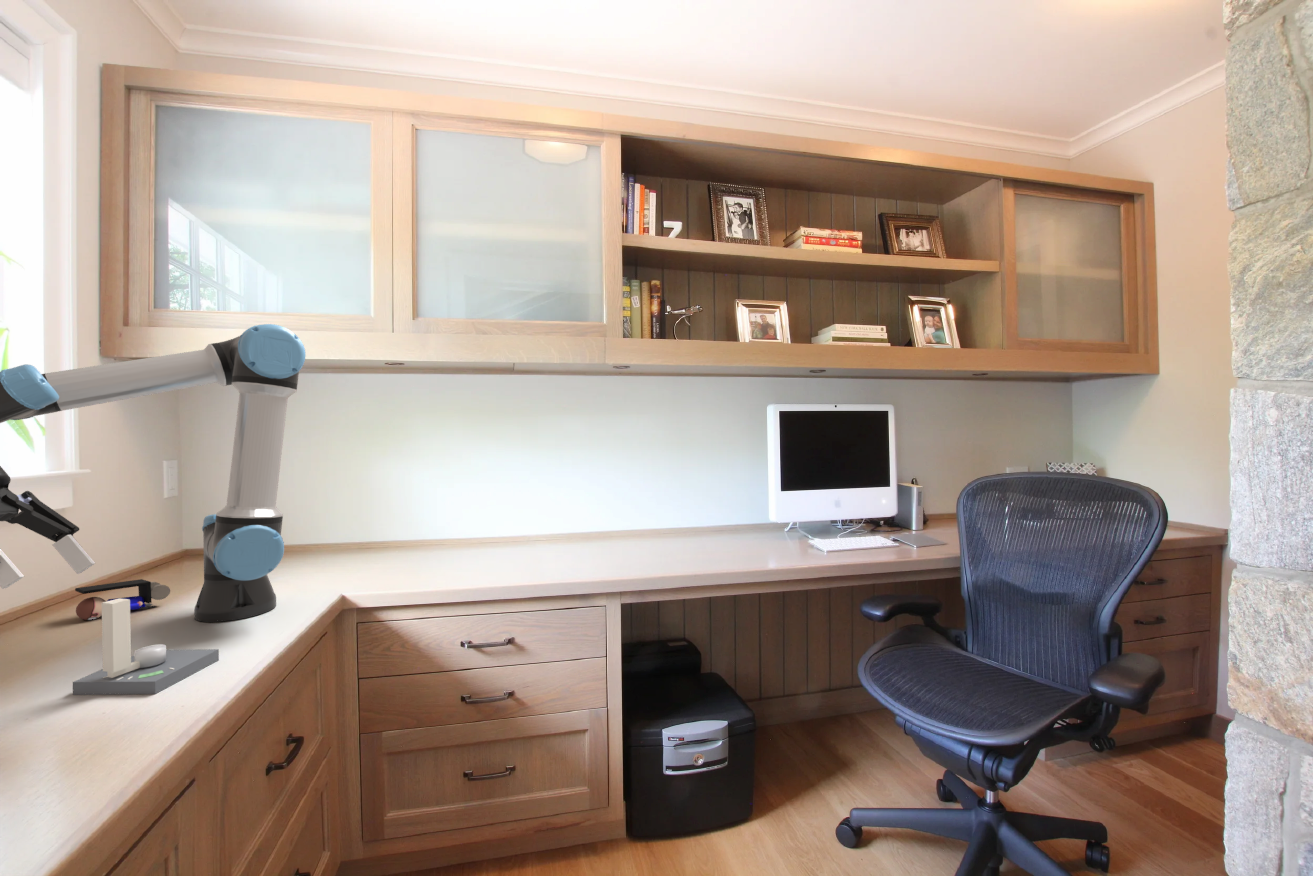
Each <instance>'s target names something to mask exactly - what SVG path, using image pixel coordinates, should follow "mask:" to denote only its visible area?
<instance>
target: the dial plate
mask: <svg viewBox="0 0 1313 876" xmlns="http://www.w3.org/2000/svg"><path fill="white" fill-rule="evenodd" d="M219 654H220V651H219V648H213V649H212V648H211V649H210V648H209V649H208V648H207V649H205V648H204V649H202V648H201V649H192V648H191V649H190V648H189V649H183V648H182V649H166V661H165V662H163V663H161V664H158V665H155V666H150V667H144V668H138V669H135V670H132V671H130V672H127V673H124V674H121V675H118V676H116V677H113V678H110V677H108V672H106V671H103V668H101V669H99V670H97V671H94V672H93V673H91V674H90V673H89V674H87V675H86V676H83V677H81V678H79V679H76V680H74V681H72V695H81V696H82V695H157V694H158V693H160V692H162V691H164V690H166V689H167V688H169V687H171V686H173V685H175V684H177V683H179V682H181V681H183V680H184V679H186V678H189V677H190V676H192V675H194V674H196V673H197V672H199V671H201V670H203V669H205V668H208V667H209V666H210V665H212V664H215V663H216V662H218V661H220V660H219V659H220V655H219ZM132 662H134V654H133V655H131V663H132Z"/></svg>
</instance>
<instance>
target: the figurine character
mask: <svg viewBox="0 0 1313 876" xmlns="http://www.w3.org/2000/svg"><path fill="white" fill-rule="evenodd" d="M133 587H134V588H136V587H138V595H136V596H135V595H133V596H126V597H125V596H124V597H117V598H109V599H107V600H105V598H102V597H100V596H90V597H87V598H85V599H83V600H81V601H80V602H79V603H78V604H77V606H76V608H75V613H76V616H77V617H78V618H79V619H82V620H84V621H93V620H97V619H99V618H102V603H103V602H107V601H111V600H115V599H119V598H121V599H130V611H133V610H145V609H146V610H147V609H154V608H157V607H158V605H154V604H153V603H152V600H155V601H160V600H164V599H166V598H168V596H170V594H171V588H170V587H169V586H168V585H165V584H161V583H160V582H156V581H149V580H146V579H143V578H140V579H133V580H126V581H119V582H118V581H117V582H111V583H104V584H96V585H87V586H81V587H75V589H74V590H75V592H77V593H80V594H83V595H85V594H92V593H99V592H100V593H102V592H104V591H105V592H106V591H113V590H121V589H128V588H133ZM92 619H93V620H92Z"/></svg>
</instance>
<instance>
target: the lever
mask: <svg viewBox="0 0 1313 876" xmlns="http://www.w3.org/2000/svg"><path fill="white" fill-rule="evenodd" d="M118 598H119V599H115V598H114V599H115V600H111V601H107V600H106V602H103V603H102V616H101V638H102V640H101V644H102V648H101V649H102V651H101V652H102V669H103V671H106V672H108V677H110V678H113V677H116V676H118V675H121V674H124V673H127V672H130V671H132V670H135V669H138V668H144V667H150V666H155V665H158V664H161V663H163V662H165V661H166V650H167V645H166V644H162V643H160V644H152V645H146V646H142V647H140V648H138V649H135V650H134V654H133V655H134V662H132V663H131V656H132V646H131V644H132V643H131V642H132V641H131V640H132V639H131V637H132V636H131V633H132V630H131V610H130V599H121V598H122V597H118Z"/></svg>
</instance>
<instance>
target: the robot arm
mask: <svg viewBox="0 0 1313 876" xmlns="http://www.w3.org/2000/svg"><path fill="white" fill-rule="evenodd" d="M306 357H307V355H306V349H305V344H303V342H302V340H301V339H300V337H298V335H296V334H295V333H294V332H293V331H292V330H290V329H288V327H285V326H281V325H279V324H272V323H264V324H258V325H257V324H256V325H253V326H251V327H248V328H247V329H246V330H245V331H243V333H241V334H240V335H238V336H236V337H234V338H230V339H228V340H225V341H220V342H214V343H208V344H207V345H206V346H205V348H204V349H198V350H192V351H186V352H178V353H173V354H172V353H171V354H165V355H160V356H153V357H146V358H138V359H133V360H127V361H117V362H112V363H111V362H110V363H106V364H105V363H104V364H98V365H94V366H93V365H92V366H86V367H85V366H84V367H80V368H73V369H65V370H60V371H59V370H58V371H54V372H53V371H52V372H47V373H46V372H45V373H41V372H40V371H39V369H37V368H36V367H35V366H34V365H33V364H21V365H19V366H14V367H10V368H4V369H1V371H0V424H2V423H4V422H8V421H21V420H26V419H31V418H33V417H37V416H41V415H47V414H54V413H57V412H62V411H68V410H74V409H78V408H79V409H80V408H85V407H89V406H90V407H91V406H95V405H100V404H106V403H111V402H118V401H123V400H128V399H134V398H139V397H146V396H150V395H156V394H161V393H166V392H173V391H179V390H183V389H190V388H195V387H199V386H207V385H211V384H218V385H220V386H223V387H226V386H230V385H231V386H232V387H234V388H235V389H236V391H238V393H239V395H238V402H237V403H238V404H237V413H236V420H235V421H236V422H235V427H234V428H235V429H234V430H235V431H234V440H233V447H232V455H231V456H232V457H231V465H230V473H229V481H228V488H227V497H226V498H227V499H226V505H225V506H224V507H223V508H222V509H221V510H219V511H218V512H216V513H214V514H208V515H206V516H205V517H204V519H203V522H202V523H203V524H202V527H201V530H202V532H203V537H202V538H203V584H202V587H201V590H200V591H199V592H200V593H199V594H198V598H197V601H196V604H195V606H194V611H193V613H194V614H193V615H194V616H193V617H194V620H195V621H199V622H205V623H214V622H216V623H217V622H218V623H219V622H228V621H235V620H242V619H247V618H251V617H255V616H259V615H262V614H264V613H267V612H269V611H271V610H273V609H275V608H276V607H277V595H276V592H275V591H274V589H273V587H272V586H273V585H272V582H271V580H270V579H269V576H268V574H270V573H271V572H272V571H274V570H275V569H276V568H277V567H278V566H279V564H280V563H281V561H282V559H283V557H284V553H285V545H284V544H285V541H284V540H283V537H282V527H283V517H284V513H283V512H282V511H280V510H279V508H277V506H276V505H277V497H278V488H279V478H280V469H281V461H282V450H283V446H284V445H283V442H284V435H285V426H286V418H287V417H286V416H287V408H288V399H289V398H290V397H291V396H292V395H294V394H296V393H297V390H298V384H299V374H300V373H299V372H300V371H301V370H302V368H303V366H304V364H305V360H306ZM11 480H12V479H11V477H10V475H9V474H8V473H7V472H6V471H5V469H4V468H3V467H2V466H1V465H0V522H7V523H8V524H11V525H12V524H13V525H14V524H17V525H20V526H22V527H24V528H26V529H28V530H29V531H32V532H34V533H36V534H38V535H40V536H42V537H45V538H46V539H48V540H51V541H53V542H54V543H53V544H52V546H53V548H54V549H55V551H57V552H58V553H59V555H60V556H61V557H62V558H63V559H64V561H66V563H67V564H68V565H69V567H71V568H72V570H73V571H74V572H75V573H76V574H77V575H79V574H82V573H84V572H85V571H86V570H88V569H89V568H91V567H92V566H94V565H95V564H96V562H95V561H94V559H93V558H92V557H91V556H90V555H89V554H88V553H87V552H86V550H85V549H84V548H83V546H82V545H81V544H80V543H79V542H78V541H77V539H76V538H75V537H74V534H75V533H77V532H79V531H80V527H79V526H77V525H76V524H74V523H73V522H72V521H70V520H69V519H67V518H66V517H64V516H63V515H61V514H60V513H59V512H57V511H55V510H54V509H52V508H51V507H50V506H48V505H47V504H45V503H44V502H42V501H41V500H40V499H39V498H38V497H37V496H36V495H35V494H33V492H31V491H29V490H25V491H24V492H22V493H21V494H16V493H14V492H12V491H11V490H10V489H9V486H10V483H11ZM24 577H25V575H24V574H23V573H22V572H21V570H20V569H19V568H18V566H16V565H15V564H14V562H13V561H12V560H11V559H10V558H9V557H8V556H7V554H6V553H5V552H4V551H3V550H2V549H1V548H0V588H1V589H2V590H4V589H7V588H9V587H10V586H12V585H14V584H16V583H17V582H19V580H21V579H23V578H24Z"/></svg>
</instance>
